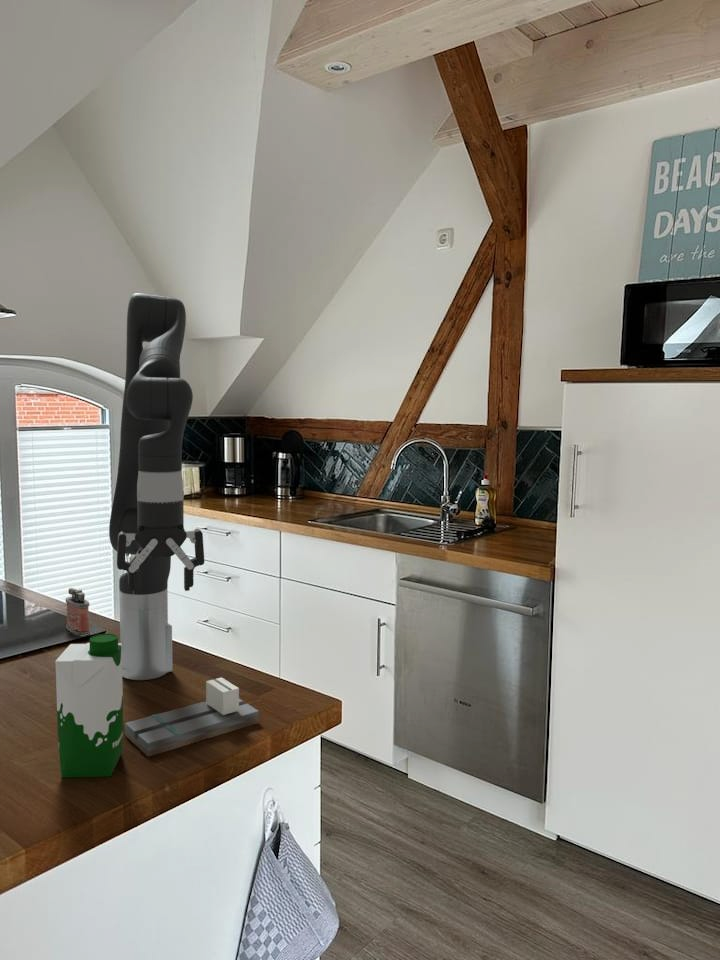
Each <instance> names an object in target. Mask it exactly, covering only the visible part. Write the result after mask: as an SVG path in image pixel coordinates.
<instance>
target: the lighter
mask: <svg viewBox="0 0 720 960" xmlns="http://www.w3.org/2000/svg"><path fill="white" fill-rule="evenodd" d="M68 595H70V596H67V597H66V598H65V603H66V626H65V627H66V628H67V629H68V630H69V631H70V632H73V633H76V634H79V635H85V634H88V633H90V634H91V630H90V621H89V620H90V619H89V618H90V617H89V616H90V614H89V612H90V611H89V607H90V602H89V601H88V600H86V597H85V596H86V595H85V592H83V590H82V589H76V588H74V587H69V589H68ZM66 628H65V629H66ZM70 632H69V633H70Z"/></svg>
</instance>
